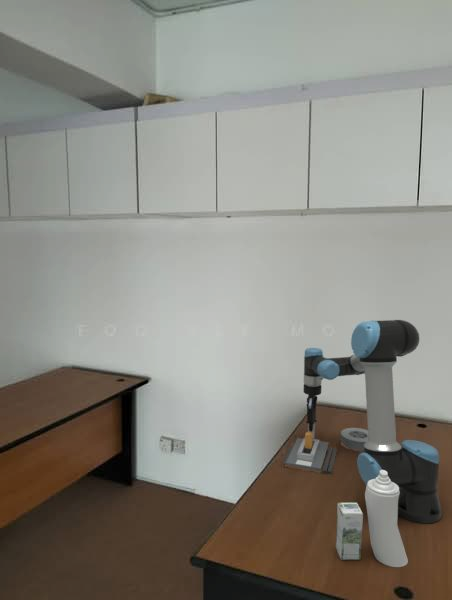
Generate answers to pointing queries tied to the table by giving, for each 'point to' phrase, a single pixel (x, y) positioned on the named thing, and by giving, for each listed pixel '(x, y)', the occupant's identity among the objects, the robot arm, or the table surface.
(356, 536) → the syrup box
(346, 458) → the table surface
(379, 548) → the spray can
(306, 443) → the breaker toggle
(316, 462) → the breaker panel
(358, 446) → the tape roll
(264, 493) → the table surface
